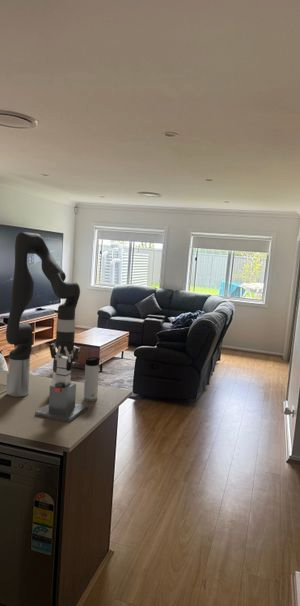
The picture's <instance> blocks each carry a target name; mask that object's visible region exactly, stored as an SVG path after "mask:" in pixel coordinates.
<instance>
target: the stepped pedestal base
mask: <svg viewBox="0 0 300 606" xmlns="http://www.w3.org/2000/svg"><path fill="white" fill-rule="evenodd" d="M70 383H71V385H69V386H67V387H63V384H60V383H54V384H52V383H51V385H49V395H48V396H49V397H48V398H49V400H48V403H47V404H45V405H44V406H42V407H41V408H39V409H37V410H36V411H34V416H37V417H41V418H47V419H53V420H56V421H62V422H67V423H71V422H73V420H75V419H76V418H77V417H79V416H80V415H82V414H83V413H84V412H86V411H87V410H88V405H87V404H80V403H76V395H77V383H75V382H70Z"/></svg>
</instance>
